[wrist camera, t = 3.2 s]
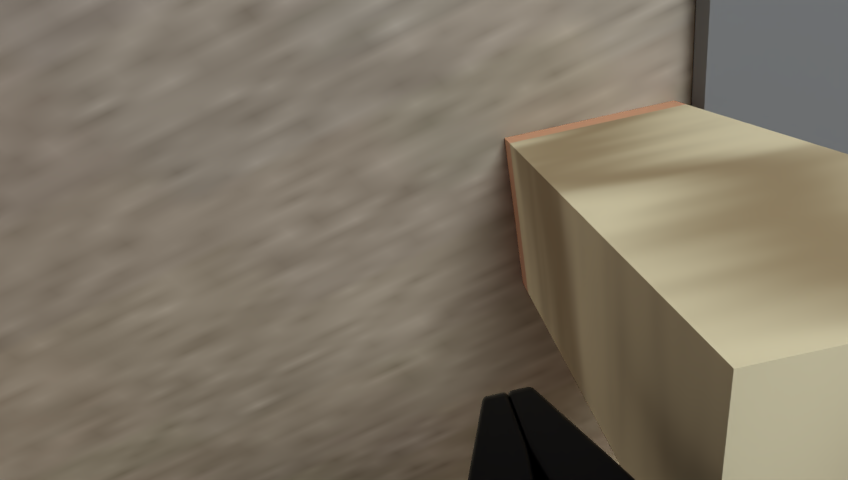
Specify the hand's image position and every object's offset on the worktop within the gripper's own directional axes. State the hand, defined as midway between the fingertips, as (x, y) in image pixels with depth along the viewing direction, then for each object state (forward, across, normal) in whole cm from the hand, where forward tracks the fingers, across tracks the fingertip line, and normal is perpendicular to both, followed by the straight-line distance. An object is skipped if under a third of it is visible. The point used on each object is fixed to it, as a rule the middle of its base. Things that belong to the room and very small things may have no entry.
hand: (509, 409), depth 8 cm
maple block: (+8, -5, 0) cm, 9 cm away
